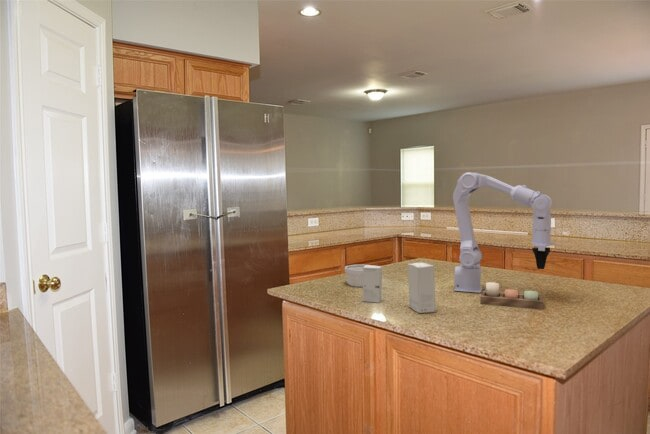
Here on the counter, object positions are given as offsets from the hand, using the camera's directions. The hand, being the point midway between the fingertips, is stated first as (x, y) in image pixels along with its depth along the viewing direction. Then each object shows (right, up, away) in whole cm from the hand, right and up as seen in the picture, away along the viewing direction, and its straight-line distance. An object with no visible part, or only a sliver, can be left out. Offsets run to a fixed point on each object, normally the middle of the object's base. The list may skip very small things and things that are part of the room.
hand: (540, 268), depth 158 cm
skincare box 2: (-44, -12, -11) cm, 47 cm away
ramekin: (-60, -10, +26) cm, 66 cm away
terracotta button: (-12, -11, -5) cm, 17 cm away
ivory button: (-18, -9, -3) cm, 20 cm away
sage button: (-7, -11, -7) cm, 15 cm away
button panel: (-12, -11, -5) cm, 17 cm away
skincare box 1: (-58, -11, +1) cm, 59 cm away
